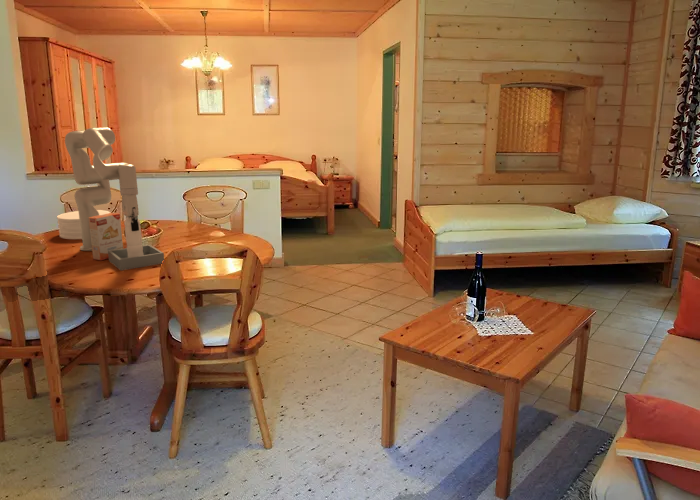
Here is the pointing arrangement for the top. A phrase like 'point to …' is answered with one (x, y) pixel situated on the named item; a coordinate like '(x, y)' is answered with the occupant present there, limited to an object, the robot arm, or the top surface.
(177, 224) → the top surface
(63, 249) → the top surface
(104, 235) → the cracker box
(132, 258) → the tray
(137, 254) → the water bottle
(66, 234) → the plate stack
